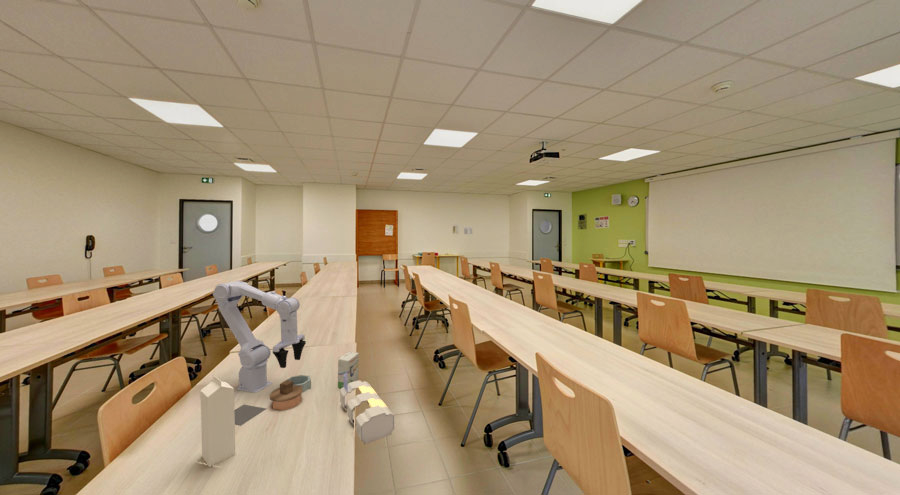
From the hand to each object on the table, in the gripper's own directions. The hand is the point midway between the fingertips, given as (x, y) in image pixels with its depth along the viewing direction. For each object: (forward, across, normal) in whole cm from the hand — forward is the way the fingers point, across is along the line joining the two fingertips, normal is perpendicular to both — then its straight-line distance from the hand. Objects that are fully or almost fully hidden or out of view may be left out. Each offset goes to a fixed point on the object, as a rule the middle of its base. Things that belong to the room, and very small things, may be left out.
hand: (290, 363), depth 121 cm
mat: (+10, -19, +3) cm, 22 cm away
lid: (+7, -9, -6) cm, 13 cm away
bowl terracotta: (+10, -9, -6) cm, 15 cm away
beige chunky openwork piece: (+12, -10, -38) cm, 41 cm away
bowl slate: (+10, +1, -2) cm, 11 cm away
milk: (+11, -36, -8) cm, 39 cm away
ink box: (+11, +10, -19) cm, 24 cm away
